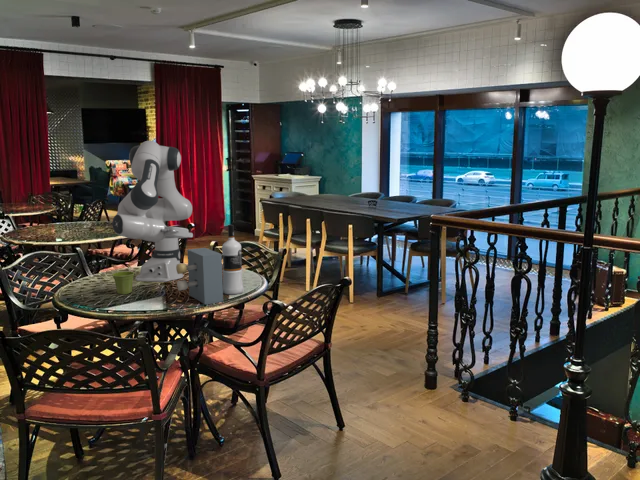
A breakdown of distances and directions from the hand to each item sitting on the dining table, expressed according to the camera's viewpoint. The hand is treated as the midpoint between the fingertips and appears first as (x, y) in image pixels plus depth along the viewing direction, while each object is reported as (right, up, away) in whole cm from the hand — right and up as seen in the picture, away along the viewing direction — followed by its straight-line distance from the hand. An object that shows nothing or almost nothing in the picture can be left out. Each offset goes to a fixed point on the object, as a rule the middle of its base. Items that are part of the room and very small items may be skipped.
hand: (185, 235), depth 236 cm
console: (+6, -26, +10) cm, 29 cm away
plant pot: (-32, -25, +21) cm, 46 cm away
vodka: (+16, -25, +20) cm, 36 cm away
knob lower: (+2, -22, +7) cm, 23 cm away
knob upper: (+2, -15, +6) cm, 16 cm away
